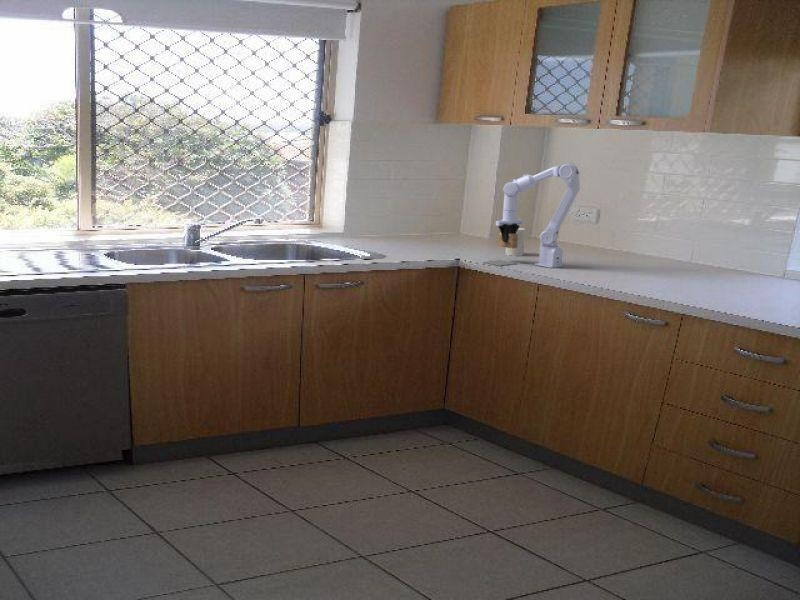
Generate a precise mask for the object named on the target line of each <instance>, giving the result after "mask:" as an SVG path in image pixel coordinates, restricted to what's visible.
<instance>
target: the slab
mask: <svg viewBox="0 0 800 600" xmlns="http://www.w3.org/2000/svg"><path fill="white" fill-rule="evenodd" d="M496 244H497V247H502V248H506V247H507V248H517V244H518V234H514V233H509V235H508V241H507V242H503V239H502V234H501V231H498V232H497V243H496Z"/></svg>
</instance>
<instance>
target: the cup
mask: <svg viewBox="0 0 800 600" xmlns="http://www.w3.org/2000/svg"><path fill="white" fill-rule="evenodd" d="M525 233H526V228H524V227H523V228H522V227H519V229H518V230H517V232H516V234H518V244H517V248H507V247H505V255H507V256H509V255H514V256H513V257H522V255H523V256H524V250H525V235H526V234H525Z"/></svg>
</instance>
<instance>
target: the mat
mask: <svg viewBox="0 0 800 600" xmlns="http://www.w3.org/2000/svg"><path fill="white" fill-rule="evenodd" d="M481 263H482V264H487V265H492V266H497V267H504V265H506V266H511V265H510V264H514V265H518V262H512V261H508V260H503V259H495V260H487V261H482V262H481Z"/></svg>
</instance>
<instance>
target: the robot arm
mask: <svg viewBox="0 0 800 600" xmlns="http://www.w3.org/2000/svg"><path fill="white" fill-rule="evenodd" d="M552 177H555V178H559V177H561V179H562V180H563V182H564V184H565V186H566V190H565V192H564V194H563V196H562V198H561V200H560V202H559V204H558V206H557V208H556V210H555V211H554V214H553V215H552V218H551V220H550V221H549V223H548V225H547V226H546V228H545V229H544V230H543V231H542V232H541V233H540V235H539V240H540V243H539V252H538V253H539V256H538V262H534V265H535V266H540V267H545V268H550V269H552V268H553V269H554V268H559V267H560V268H561V267H564V265H563V249H562V247H560V246H558V243H557V240H558V239H559V233H560V231H561V227H562V225H563V222H564V221H565V219H566V217H567V215H568V213H569V211H570V208H571V207H572V204H573V203H574V200H575V199H576V197H577V195H578V194H579V191H580V189H581V183H580V171H579V169H578V166H576V165H575V163H572V162H568V163H564V164H561V165H558V166H556V165H555V166H553V167H550V168H548V169H545V170H543V171H542V172H539V173H537V174H534V175H531V174H527V173H525V174H523V175H522V176H521V177H519V178H517V179H516V178H514V179H512V181H508V182H507V183H505V184H504V185H503V187H502V188H503V191H502V192H503V195H504V196H503V207H502V208H503V209H502V219H501V220H496V221H495V226H496V227H498V229H499V232H501V234H502V239H503V242H507V241H508V235H509V233H514V234H516V232H517V230H518V229H519V228H520V225H523V219H517V214H518V213H517V211H518V208H517V207H518V194H519V193H522V192H524V191H528V190H529V189H532V188H534V187H535V186H536V183H538V182H541V181H544V180H546V179H549V178H552Z"/></svg>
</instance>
